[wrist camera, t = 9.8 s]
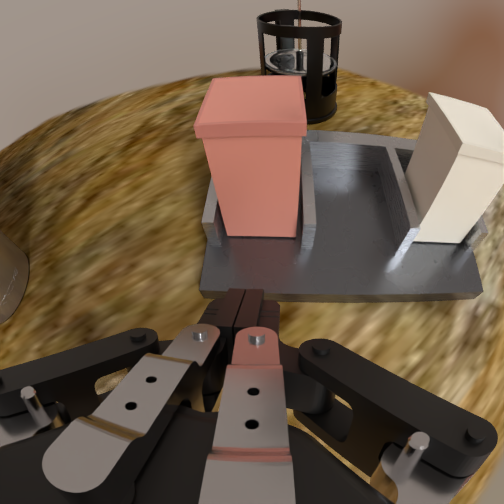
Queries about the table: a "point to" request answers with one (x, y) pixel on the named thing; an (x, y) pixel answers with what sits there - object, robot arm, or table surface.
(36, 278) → the table surface
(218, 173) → the pink boxy piece
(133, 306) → the table surface
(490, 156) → the white tall block
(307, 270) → the dark grey tray
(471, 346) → the table surface
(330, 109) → the french press
